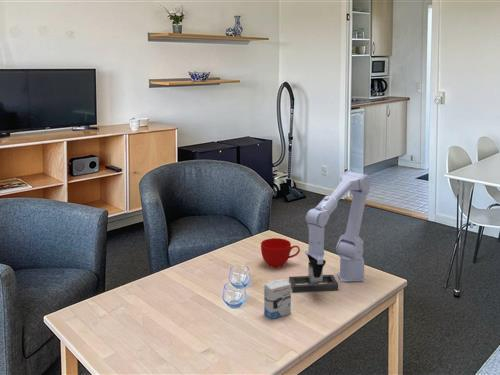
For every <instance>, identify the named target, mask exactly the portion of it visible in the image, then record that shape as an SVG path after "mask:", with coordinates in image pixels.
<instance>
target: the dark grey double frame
mask: <svg viewBox="0 0 500 375" xmlns="http://www.w3.org/2000/svg"><path fill="white" fill-rule="evenodd" d="M288 282H289V283H290V284H291V293H308V292H328V291H339V282H338V281H337V280H336V277H335V276H334V274H323V281H318V282H311V281H310V279H309V277H308V275H299V276H297V275H296V276H288Z"/></svg>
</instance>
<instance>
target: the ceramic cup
mask: <svg viewBox="0 0 500 375" xmlns="http://www.w3.org/2000/svg"><path fill="white" fill-rule="evenodd" d="M294 248H297V252H296V253H294V254H291V251H292V250H293V249H294ZM300 248H301V247H299V245H295V244H294V245H292V243H291V242H290V241H289V239H286V238H278V237H276V238H275V237H272V238H267V239H264V240H262V242H260V249H261V250H260V251H261V257H262V258H263V261H264V262H265V263H266V265H268V267H270V268H272V269H273V268H275V269H278V268H282V267H283V266H284V265H285V264H286V263H287V262H288V260H289V259H291V258H294V257H296V256H298V254H299V253H300V251H301V249H300Z"/></svg>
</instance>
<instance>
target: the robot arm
mask: <svg viewBox="0 0 500 375" xmlns="http://www.w3.org/2000/svg"><path fill="white" fill-rule="evenodd" d="M371 183H372V180H371V178H370V176H369V175H368V174H366V173H359V172H354V171H350V170H345V172H343V174H342V175H341V176H340V182H339V184H338V185H337V187H335V189H334V190H333V192H332V193H331V194H330V195H326V196H324V197H323V198H322V200H321V201H320V202H319V203H318V204H317V205H316V206H315V207H314V208H311V209H309V210H308V211H307V213H306V214H305V222H306V224H307V228H308V250H305V252H304V254H305V255H306V256H307V260H308V262H311V264H312V267H313V274H314V277H315V278H318V277H320V276H321V272H322V269H323V270H324V266H326V263H327V261H326V259H324V256H325V226H326V225H327V224H328V220H329V218H330V216H331V214H332V213H334V211H335V209H336V208H337V207H338V202H339V201H340V199H342V198H343V197H344V196H345V195H346V194H348V193H349V192H350V193H351V195H352V199H351V205H350V209H349V215H348V219H347V225H346V228H345V233H343V234H342V235H340V236H339V239H338V242H337V243H336V248H335V249H336V250H335V251H336V253H337V254H338V257H339V259H340V260H339V272H336V275H337V277H338V278H339V280H340V281H341V283H345V282H364V281H365V260H364V257H363V254H364V241H363V239H362V238H361V237H360V231H361V225H362V221H363V215H364V211H365V206H366V201H367V196H368V195H369V193H370V188H371V187H370V186H371Z"/></svg>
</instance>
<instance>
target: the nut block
mask: <svg viewBox="0 0 500 375" xmlns="http://www.w3.org/2000/svg"><path fill="white" fill-rule="evenodd" d="M307 263H308V267H307V268H308V270H307V271H308V272H307V273H308V275H307V276H308V277H309V279H310V281H311V282H318V281H323V275H324V274H323V273H324V272H323V271H324V268H323V269H322V272H321V276H320V277H318V278H315V277H314V274H313V267H312V264H311V262H309V261H308V262H307ZM318 283H319V282H318Z"/></svg>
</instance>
